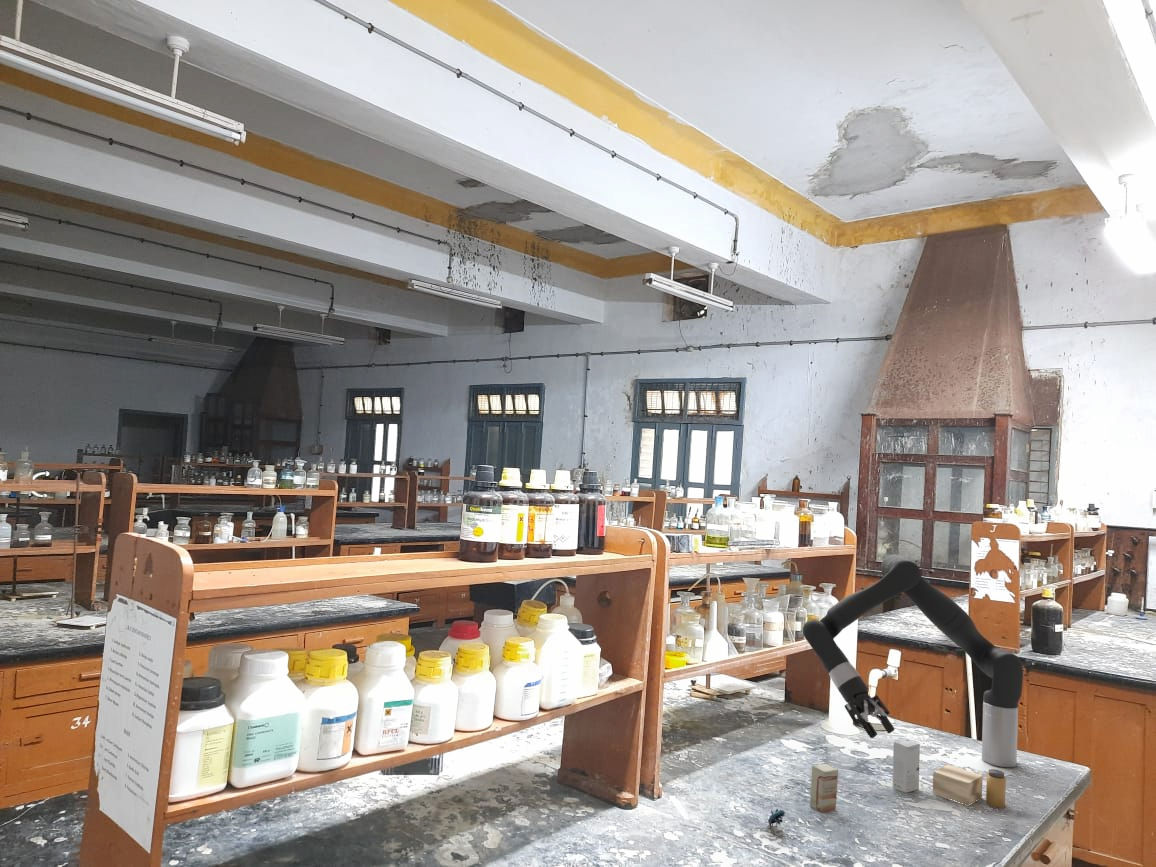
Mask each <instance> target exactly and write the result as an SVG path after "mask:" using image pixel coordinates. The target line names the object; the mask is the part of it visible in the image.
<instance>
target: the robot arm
mask: <svg viewBox="0 0 1156 867" xmlns="http://www.w3.org/2000/svg"><path fill="white" fill-rule="evenodd" d="M880 571H881V575H882V576H883V577H882V578H881V579H879V580H877V581H876V582H875V583H873V584H871V585H870V586H868V587H865V588H862V589H861V590H858V591H856V592H853V593H851V594H849V595H847V596H846V597H844V598H842V599H841V600H839V601H838V602H837V603H835V604H834V605H833V606H831V607H830V608H828V610H827V612H826V615H824V616H823V617H822V618H820V620H818V619H814V618H813V619H809V620H807V621H806V622H805V623H804V624H803V626H802V635H803V637H804V638H805V640H806V641H807V643H808V644H809V646H810V647H811V649H812V650H813V651H814V652H815V654H816V655H817V657H818V658H819V660H820V662H821V665H822V666H823V668H824V669H825V670H826V672H827V673H828V675H829V677H830V679H831V681H832V683H833V685H834V686H835V688H836V689H837V691H838V692H839V694H840V695H841V696H842V698H843V699H844V701H845V702H846V704H845V705H844V709H845V710H846V711H847V713H848V716H849V717H850V719H851V721H853V723H854V725H856V726H858V725H859V726H860V727H862V728H863V730H864V731H865V732H866V734H867V735H868V736H869V738H871V739H874V738H875V737H877V736H878V732H877V731H876V729H875V728H874V727H873V725H872V723H871V722H870V721H869V717H868V716H871V717H873V718H876V719H877V720H878V721H880V724H881V725H882V726H883V728H884V730H885V731H886V733H887V734H891V733H892V732H895V727H894V725H893V724H892V723H891V721H890V719H889V718H888V716H889V715H890V711H889V709H888V708H887V706H886V705H885V703H883V701H882V700H881V698H880V697H879V695H877V694H875V695H874V696H873V697H871V696H870V695H869V692H870V691H869V688H870V687H868V685H867V683H865V681H864V680H863V678H862V676H861V675H860V673H859V672H858V671H857V669H856V668H855V667H854V666H853V664H852V663H851V662H850V661H849V659H848V658H847V656H846V655H845V654H844V652H843V650H842V649H841V648H840V647H839V646H838V644H837V643H836V641H835V640H834V639H835V638H836V637H837V636H838V635H839V634H840V633H841V632H842V631H843V630H845V628H847V627H848V626H850V625H851V624H853V623H854V622H856V621H857V620H858V619H860V618H861V617H863V616H864V615H865V614H867V613H868V612H870V611H872V610H873V609H875V608H876V607H878V606H880V605H881V604H884V603H885V602H887V601H888V600H890V599H893V598H895V597H897V596H898V595H901V594H904V595H906V596H907V597H908V598H909V599H910V600H911V601H912V602H913V603H914V605H916V607H917V608H918V609H919V611H921V612H922V614H923V615H924V616H925V617H926V618H927V619H928V620H929V621H930V622H931V623H932V624H933V625H934V626H935V627H936V628H937V629H938V630H939V631H940V632H942V634H944V635H945V636H946V637H947V638H948V639H950V640H951V641H952V642H953V643H954V644H955V645H956V646H958V647H959V648H960V649H962V650H963V651H964V652H965V653H966V655H968V656H969V658H970V659H971V660H972V661H973V663H974V664H975V665H976V666H977V667H978V668H979V670H981V671H982V672H983V674H985V675H986V676H987V677H989V678H991V679H992V680H991V681H992V682H991V688H990V689H988V690H985V691H984V692H983V698H982V699H983V700H982V701H983V702H982V730H981V731H982V734H981V735H982V736H981V737H982V738H981V759H982V760H983V762H986V763H988V764H990V765H993V766H996V767H997V766H998V767H1002V768H1015V767H1017V762H1018V761H1017V757H1018V727H1019V725H1018V724H1019V723H1018V722H1019V718H1018V717H1019V715H1018V714H1019V702H1020V700H1021V698H1022V694H1023V681H1024V667H1023V666H1024V665H1023V663H1022V660H1021V659H1020V658H1019V656H1017V654H1014V653H1012V652H1010V651H1007V650H1005V649H1002V648H999V647H998V646H996V645H994V644H993V643H992V642H990V641H989V640H988V639H987V638H986V637H984V635H982V634H981V632H979V630H978V629H977V627H976V625H975V622H974V621H973V619H972V617H971V616H970V615H969V614H968V613H967V612H966V611H965V610H964V609H963V608H962V607H960V605H959V604H958V603H957V602H955V601H954V600H953V599H952V598H950V597H949V596H948V595H946V594H945V593H944V592H942V591H941V590H939V589H938V588H937V587H935V586H934V585H932V584H931V583H929V582H928V581H927V580H926V579H925V578H924V577H923V576H922V571H921V569H920V567H919V565H918V564H917V563H916V562H914V561H913V560H912V559H909V558H907V557H906V556H903V555H901V554H890V555H888V556H886V557H884V559H883V560H882V561H881V563H880Z"/></svg>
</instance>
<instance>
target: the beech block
mask: <svg viewBox="0 0 1156 867" xmlns="http://www.w3.org/2000/svg"><path fill="white" fill-rule="evenodd" d="M932 775H933V776H932V794H933V793H934V794H933V795H935V794H936V795H935V796H937V795H939V796H938V797H940V796H942V797H941V798H943V797H946V798H949V799H952V800H955V801H957V802H960V803H963V804H966V805H969V804H971V803H972V804H974V803H976V802H977V801H976V800H978V799H979V800H981V799H982V798H983V782H984V781H983V778H984V776H983V775H982V774H979V773H976V772H973V771H970V770H967V769H963V768H960V767H958V766H955V765H952V764H946V765H944V766H942V767H940V768H938V769H935V770H934V771H933V773H932ZM981 797H982V798H981ZM946 798H945V799H946ZM980 798H981V799H980ZM949 799H948V800H949ZM952 800H951V801H952ZM979 800H978V801H979ZM975 801H976V802H975ZM957 802H956V803H957ZM973 802H974V803H973ZM960 803H959V804H960ZM963 804H962V805H963ZM972 804H971V805H972ZM966 805H965V806H966ZM969 806H970V805H969Z"/></svg>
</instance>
